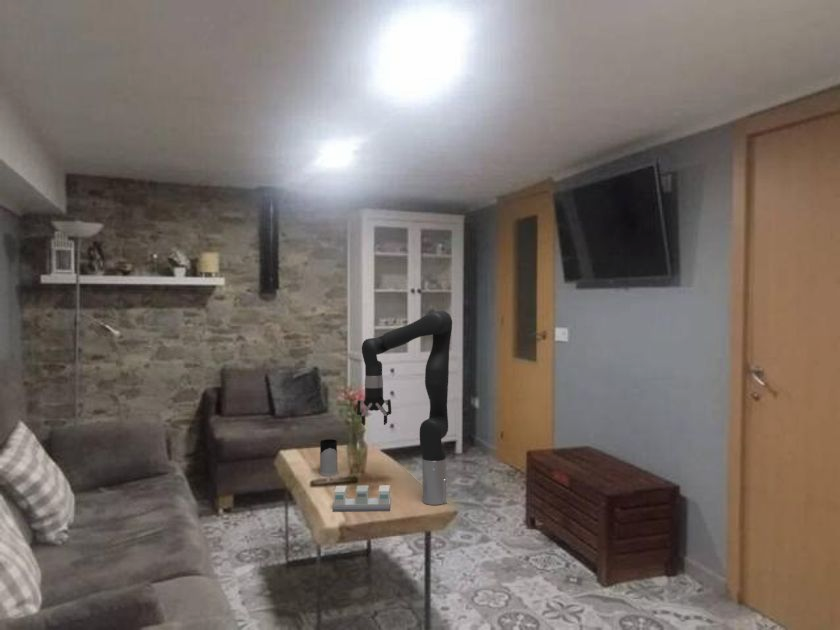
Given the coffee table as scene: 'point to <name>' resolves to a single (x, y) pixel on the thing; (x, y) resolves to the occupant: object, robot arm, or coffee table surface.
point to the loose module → (362, 494)
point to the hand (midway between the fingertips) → (374, 424)
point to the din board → (350, 504)
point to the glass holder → (328, 457)
